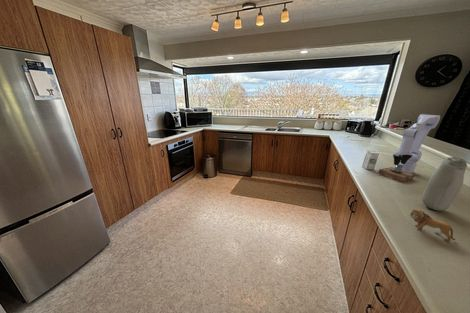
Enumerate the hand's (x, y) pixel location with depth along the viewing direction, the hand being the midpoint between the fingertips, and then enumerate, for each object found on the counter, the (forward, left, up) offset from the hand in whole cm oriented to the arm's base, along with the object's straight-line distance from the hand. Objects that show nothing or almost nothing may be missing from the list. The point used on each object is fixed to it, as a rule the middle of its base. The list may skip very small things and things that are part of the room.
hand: (399, 164), depth 121 cm
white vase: (+25, +31, -10) cm, 41 cm away
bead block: (0, 0, -9) cm, 9 cm away
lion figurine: (+51, +40, -10) cm, 66 cm away
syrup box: (+5, -16, -10) cm, 19 cm away
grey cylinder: (0, 0, -9) cm, 9 cm away
